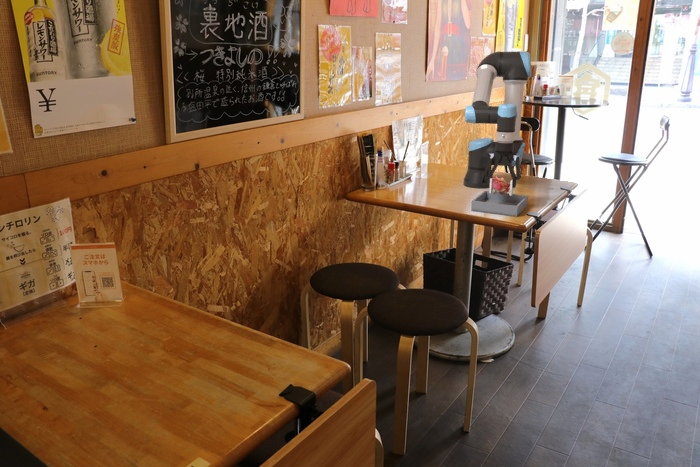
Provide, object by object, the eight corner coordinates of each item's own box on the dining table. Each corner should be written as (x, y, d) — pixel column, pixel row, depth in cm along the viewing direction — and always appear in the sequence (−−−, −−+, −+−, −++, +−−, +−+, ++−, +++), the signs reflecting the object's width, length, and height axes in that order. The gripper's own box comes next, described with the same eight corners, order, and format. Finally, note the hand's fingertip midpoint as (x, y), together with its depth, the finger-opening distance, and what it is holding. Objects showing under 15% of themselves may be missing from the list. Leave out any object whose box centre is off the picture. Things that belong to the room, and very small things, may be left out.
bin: (471, 210, 248) (471, 200, 247) (484, 200, 265) (485, 190, 263) (516, 217, 239) (517, 206, 238) (527, 205, 256) (528, 195, 254)
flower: (494, 194, 243) (505, 178, 242) (481, 185, 250) (493, 170, 249) (506, 203, 249) (518, 188, 247) (494, 194, 256) (505, 180, 255)
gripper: (478, 141, 244) (474, 192, 252) (528, 144, 235) (523, 198, 242) (483, 138, 251) (479, 189, 258) (532, 142, 241) (527, 194, 248)
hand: (500, 193), depth 250 cm, fingers closed on flower, 8 cm apart
